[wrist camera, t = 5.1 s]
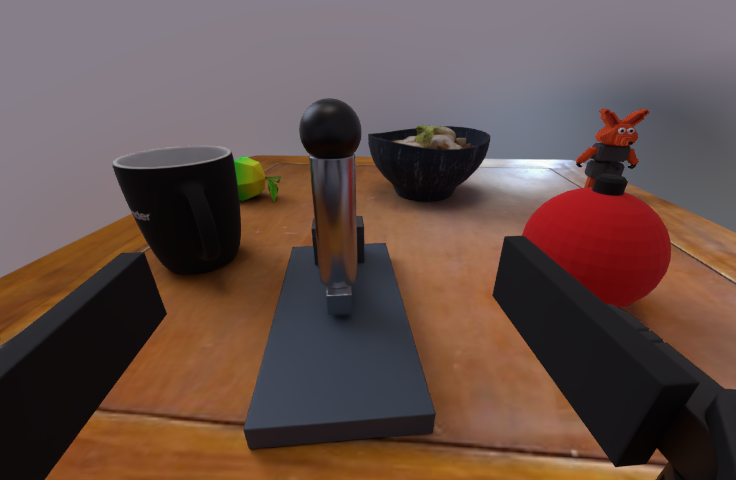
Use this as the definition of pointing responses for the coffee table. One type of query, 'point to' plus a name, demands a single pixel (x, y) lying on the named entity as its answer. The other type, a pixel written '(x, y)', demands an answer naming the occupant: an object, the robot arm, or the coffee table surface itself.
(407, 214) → the coffee table surface
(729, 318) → the coffee table surface
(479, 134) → the bowl
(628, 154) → the toy animal
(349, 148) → the ball-knob lever
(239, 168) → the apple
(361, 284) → the grey lever base
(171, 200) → the mug
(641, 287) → the ornament
